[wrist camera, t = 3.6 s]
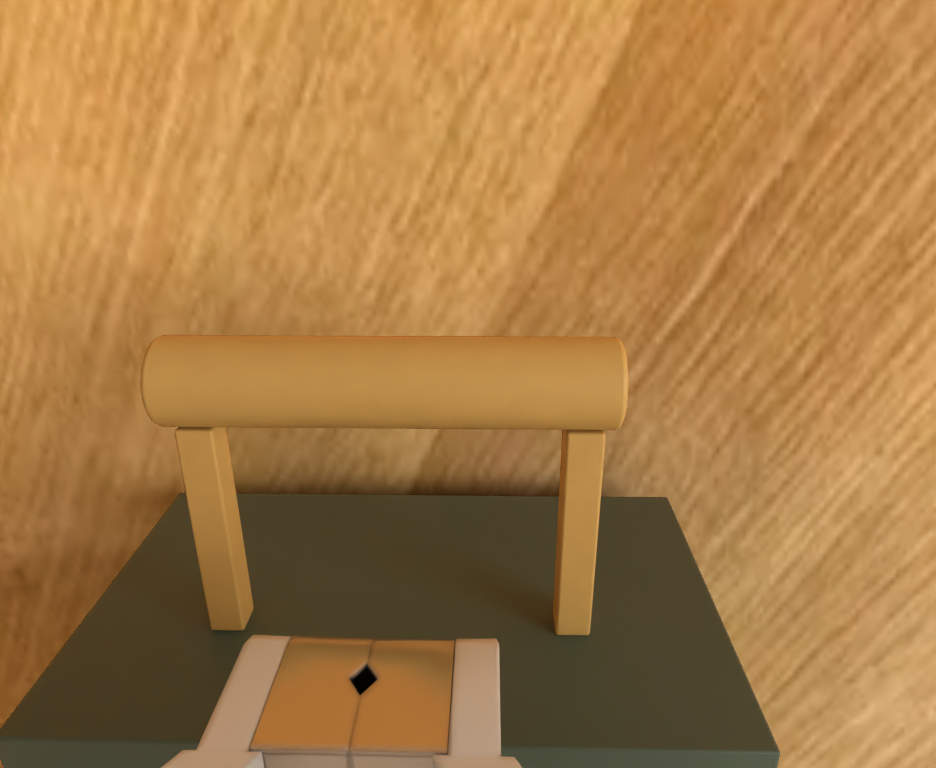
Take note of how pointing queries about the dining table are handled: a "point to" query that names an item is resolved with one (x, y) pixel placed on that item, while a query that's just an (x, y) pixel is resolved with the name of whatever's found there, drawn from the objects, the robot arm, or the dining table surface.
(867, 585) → the dining table surface
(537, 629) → the drawer
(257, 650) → the robot arm
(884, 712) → the dining table surface
